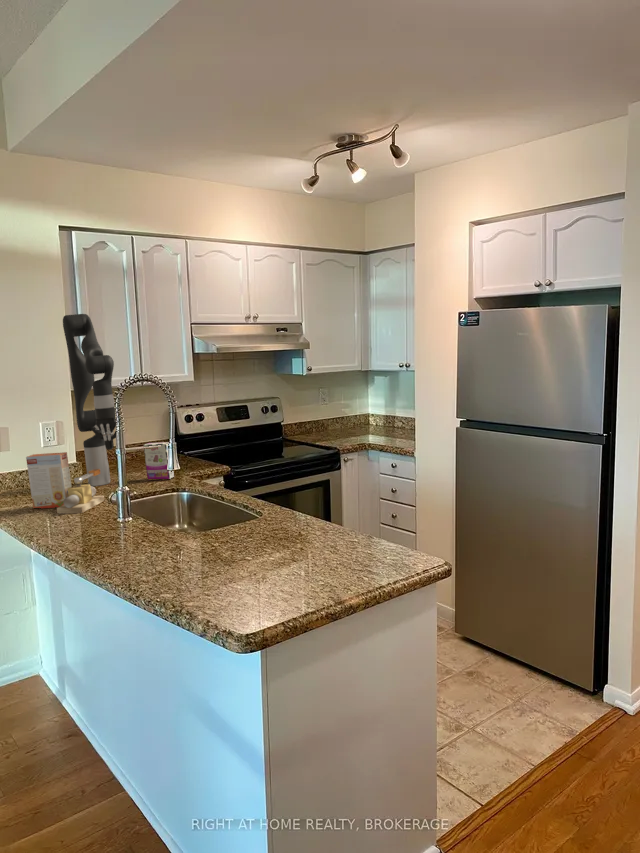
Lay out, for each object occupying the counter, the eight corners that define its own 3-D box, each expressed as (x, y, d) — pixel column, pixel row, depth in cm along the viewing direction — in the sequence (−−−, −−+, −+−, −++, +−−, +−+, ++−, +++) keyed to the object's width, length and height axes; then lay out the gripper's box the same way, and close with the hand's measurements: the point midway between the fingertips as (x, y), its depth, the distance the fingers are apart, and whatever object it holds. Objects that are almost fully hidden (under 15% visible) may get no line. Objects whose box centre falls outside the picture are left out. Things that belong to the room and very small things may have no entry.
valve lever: (80, 484, 238) (79, 478, 238) (73, 484, 239) (72, 478, 238) (100, 474, 254) (100, 469, 254) (94, 474, 255) (93, 469, 255)
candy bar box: (174, 477, 283) (171, 441, 281) (169, 480, 278) (165, 443, 276) (152, 477, 286) (148, 442, 284) (147, 480, 281) (142, 444, 279)
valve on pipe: (81, 501, 250) (78, 479, 249) (104, 500, 249) (101, 478, 248) (57, 513, 234) (54, 490, 232) (82, 512, 232) (79, 489, 231)
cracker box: (74, 503, 248) (67, 451, 245) (67, 507, 242) (59, 454, 239) (41, 505, 249) (33, 453, 246) (32, 509, 243) (25, 456, 240)
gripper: (124, 404, 250) (129, 446, 253) (93, 406, 252) (98, 448, 254) (116, 406, 243) (122, 450, 246) (84, 408, 244) (89, 452, 247)
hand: (110, 449), depth 250 cm, fingers closed
